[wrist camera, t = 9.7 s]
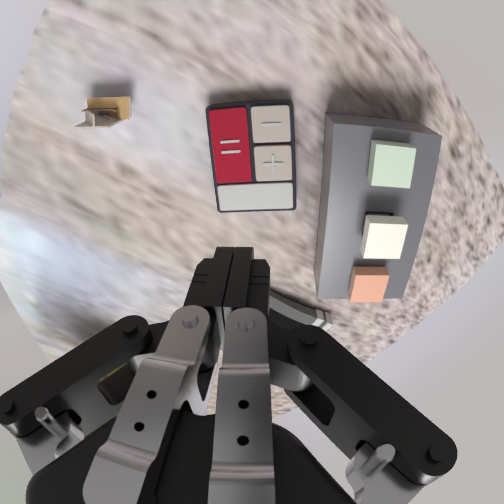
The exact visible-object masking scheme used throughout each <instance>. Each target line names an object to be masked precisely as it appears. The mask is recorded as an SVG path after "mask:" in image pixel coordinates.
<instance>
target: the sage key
mask: <svg viewBox="0 0 504 504" xmlns="http://www.w3.org/2000/svg"><path fill="white" fill-rule="evenodd" d="M415 155H416V148H415V147H414V146H412V145H411V144H408V143H400V142H391V141H382V140H371V149H370V159H369V167H368V176H367V180H368V181H369V183H370V184H371V186H385V187H398V188H410V185H411V179H412V173H413V167H414V161H415Z"/></svg>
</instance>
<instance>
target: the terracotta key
mask: <svg viewBox="0 0 504 504" xmlns="http://www.w3.org/2000/svg"><path fill="white" fill-rule="evenodd" d="M389 276H390V275H389V273H388V270H387V268H386V267H361V266H353V271H352V276H351V281H350V285H349V290H348V296H349V300H350V302H382V300H383V296H384V293H385V290H386V286H387V283H388V280H389Z"/></svg>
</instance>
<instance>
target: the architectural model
mask: <svg viewBox="0 0 504 504" xmlns="http://www.w3.org/2000/svg"><path fill="white" fill-rule="evenodd" d="M87 104H88V108H87V109H84V110H82V111H85V117H86V121H85V122H83V123H81V124H79V125H77V126H75V127H74V128H109V127H111V126H113V125H115V124H117V123H119V122H121V121H123V120H125V119H130V117H131V115H130V97H103V98H88V99H87ZM99 109H107V113H108V114H107V115H99Z"/></svg>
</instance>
